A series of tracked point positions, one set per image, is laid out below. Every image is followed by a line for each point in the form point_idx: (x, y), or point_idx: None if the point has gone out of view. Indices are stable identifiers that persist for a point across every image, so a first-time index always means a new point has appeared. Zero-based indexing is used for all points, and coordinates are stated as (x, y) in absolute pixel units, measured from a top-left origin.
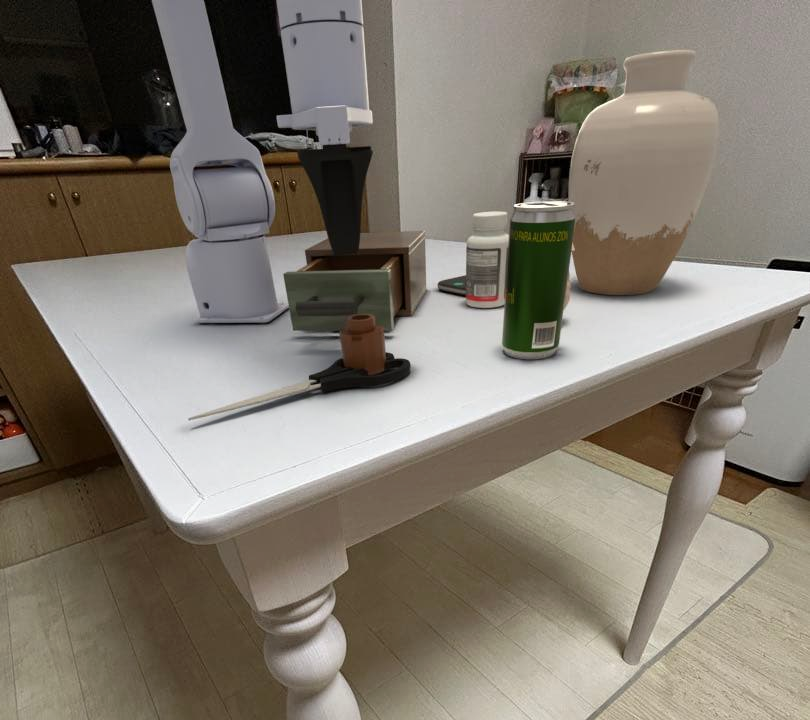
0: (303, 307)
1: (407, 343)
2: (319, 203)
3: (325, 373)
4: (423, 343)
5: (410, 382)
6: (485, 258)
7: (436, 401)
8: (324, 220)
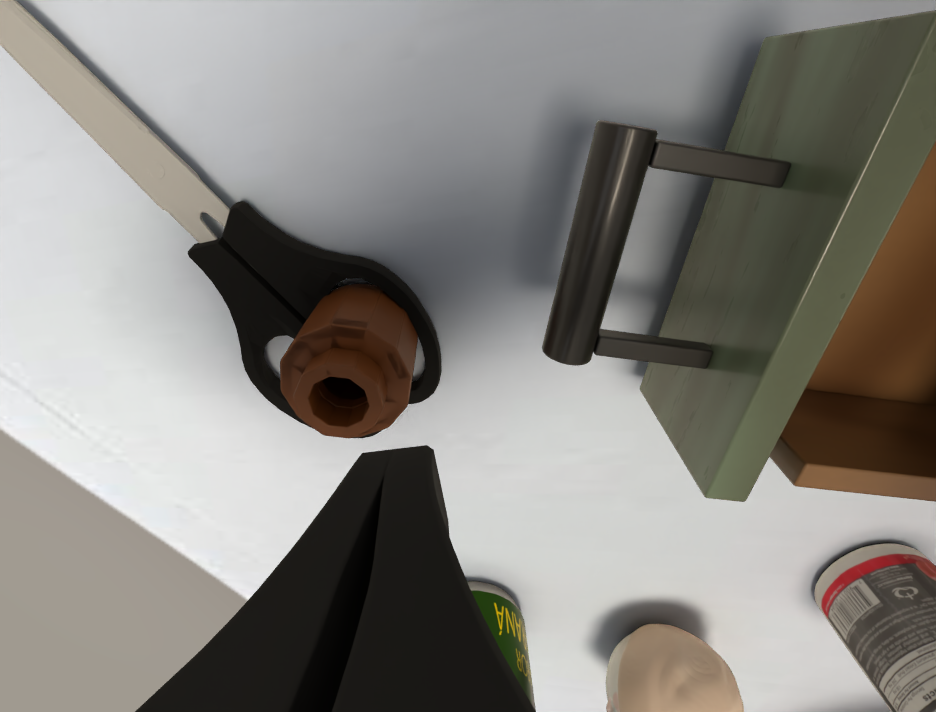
0: (593, 160)
1: (581, 413)
2: (230, 623)
3: (253, 252)
4: (571, 447)
5: (298, 425)
6: (906, 688)
7: (199, 469)
8: (294, 550)
